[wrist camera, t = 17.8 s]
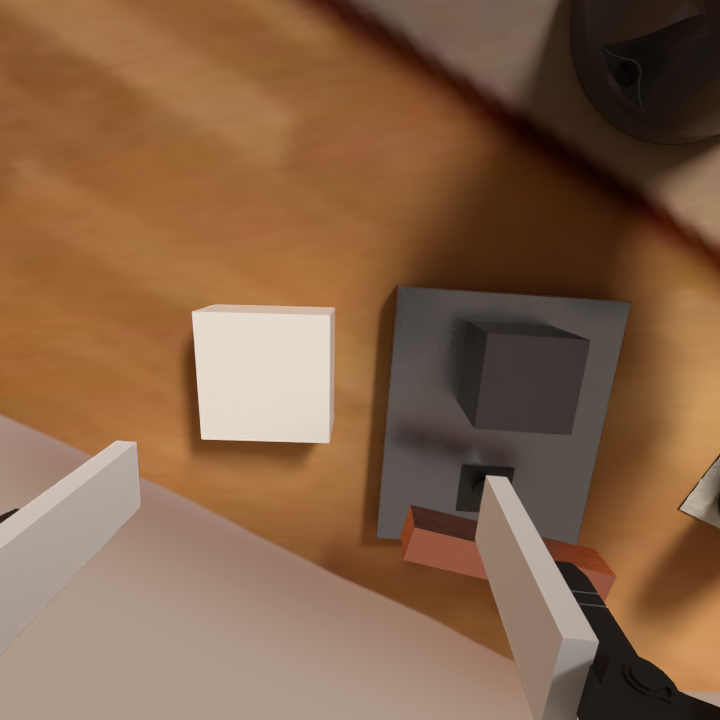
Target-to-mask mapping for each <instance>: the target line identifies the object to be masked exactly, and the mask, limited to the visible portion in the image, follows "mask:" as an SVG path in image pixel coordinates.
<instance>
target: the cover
mask: <svg viewBox="0 0 720 720" xmlns="http://www.w3.org/2000/svg"><path fill="white" fill-rule="evenodd" d="M192 319H193V333H194V346H195V360H196V374H197V387H198V401H199V414H200V428H201V439H205V440H238V441H272V442H305V443H329V442H330V437H331V432H332V428H333V423H334V367H335V308H334V307H296V306H258V305H221V304H214V305H211V306H208V307H205V308H202V309H198V310H195V311H192Z"/></svg>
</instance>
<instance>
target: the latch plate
mask: <svg viewBox="0 0 720 720" xmlns="http://www.w3.org/2000/svg"><path fill="white" fill-rule="evenodd" d="M630 305H631V302H625V301H619V300H613V299H598V298H583V297H569V296H554V295H539V294H525V293H510V292H495V291H480V290H466V289H451V288H436V287H422V286H407V285H397V288H396V300H395V311H394V323H393V334H392V346H391V358H390V369H389V381H388V392H387V404H386V415H385V427H384V439H383V450H382V462H381V473H380V485H379V497H378V508H377V520H376V529H377V538H385V539H400V540H401V536H400V534H401V531H402V528H403V525H404V522H405V519H406V516H407V513H408V510H409V507H410V504H411V505H415V506H419V507H423V508H427V509H431V510H435V511H439V512H443V513H447V514H451V515H455V516H459V517H463V518H468V519H472V520H476V521H478V518H479V512H480V506H479V504H478V502H477V500H476V497H475V495H474V487H475V485H476V484H477V483H479V482H480V481H483V480H485V478H486V475H489V476H500V477H507V478H508V480H509V482H510V484H511V485H512V487H513V489H514V491H515V493H516V494H517V496H518V498H519V500H520V501H521V503H522V505H523V507H524V509H525V510H526V512H527V514H528V516H529V517H530V519H531V521H532V523H533V525H534V526H535V528H536V530H537V532H538V534H539V535H540V536H541V537H545V538H549V539H553V540H557V541H561V542H565V543H569V544H573V545H577V541H578V537H579V532H580V528H581V523H582V519H583V514H584V510H585V505H586V501H587V496H588V492H589V487H590V483H591V479H592V474H593V470H594V465H595V461H596V456H597V452H598V447H599V443H600V438H601V434H602V429H603V425H604V421H605V416H606V412H607V407H608V403H609V398H610V394H611V389H612V385H613V380H614V376H615V371H616V367H617V363H618V358H619V354H620V349H621V345H622V340H623V336H624V331H625V327H626V322H627V318H628V313H629V309H630Z"/></svg>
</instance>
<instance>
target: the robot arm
mask: <svg viewBox="0 0 720 720" xmlns="http://www.w3.org/2000/svg"><path fill="white" fill-rule="evenodd" d="M571 41H572V51H573V57H574V62H575V66H576V69H577V73H578V76H579V78H580V81H581V83H582V86H583V88H584V90H585V92H586V94H587V95H588V97H589V99H590V100H591V102H592V103H593V105H594V106H595V107H596V109H597V110H598V111H599V112H600V113H601V114H602V115H603V116H604V118H606V119H607V120H608V121H609V122H610V123H611V124H613V125H614V126H615V127H617V128H618V129H620V130H621V131H623V132H625V133H627V134H629V135H631V136H633V137H635V138H638V139H641V140H644V141H648V142H653V143H659V144H684V143H691V142H696V141H700V140H703V139H707V138H710V137H713V136H716V135H718V134H720V0H574V2H573V8H572V18H571ZM140 506H141V502H140V487H139V473H138V458H137V443H136V442H127V441H115V442H114V443H112V444H111V445H110V446H108V447H107V448H105V449H104V450H103V451H101V452H100V453H98V454H97V455H96V456H94V457H93V458H91V459H90V460H89V461H87V462H86V463H84V464H83V465H82V466H80V467H79V468H77V469H76V470H75V471H74V472H72V473H70V474H69V475H68V476H66V477H65V478H63V479H62V480H61V481H60V482H58V483H56V484H55V485H54V486H52V487H51V488H49V489H48V490H47V491H45V492H44V493H42V494H41V495H40V496H38V497H37V498H36V499H34V500H33V501H32V502H30V503H29V504H27V505H26V506H24V507H23V508H22V509H14V510H12V511H10V512H7V513H5V514H3V515H1V516H0V655H1V654H2V653H3V652H4V651H5V650H6V649H7V648H8V647H9V646H10V645H11V643H12V642H13V641H14V640H15V639H16V638H17V637H18V636H19V635H20V634H21V633H22V632H23V631H24V630H25V629H26V627H27V626H28V625H29V624H30V623H31V622H32V621H33V620H34V619H35V618H36V617H37V616H38V615H39V614H40V613H41V611H43V609H44V608H45V607H46V606H47V605H48V604H49V603H50V602H51V601H52V600H53V599H54V598H55V597H56V596H57V595H58V594H59V592H60V591H61V590H62V589H63V588H64V587H65V586H66V585H67V584H68V583H69V582H70V581H71V580H72V579H73V578H74V577H75V576H76V574H77V573H78V572H79V571H80V570H81V569H82V568H83V567H84V566H85V565H86V564H87V563H88V561H90V559H91V558H92V557H93V556H94V555H95V554H96V553H97V552H98V551H99V550H100V549H101V548H102V547H103V546H104V545H105V544H106V543H107V541H108V540H109V539H110V538H111V537H112V536H113V535H114V534H115V533H116V532H117V531H118V530H119V529H120V528H121V527H122V526H123V524H124V523H125V522H126V521H127V520H128V519H129V518H130V517H131V516H132V515H133V514H134V513H135V512H136V511H137V510H138V509H139V508H140ZM475 541H476V544H477V547H478V550H479V553H480V556H481V559H482V562H483V565H484V568H485V571H486V574H487V577H488V580H489V583H490V586H491V590H492V593H493V596H494V599H495V602H496V605H497V608H498V611H499V614H500V617H501V620H502V623H503V626H504V629H505V632H506V635H507V638H508V641H509V644H510V647H511V650H512V653H513V656H514V659H515V663H516V666H517V669H518V672H519V675H520V678H521V681H522V684H523V686H524V690H525V693H526V696H527V699H528V702H529V705H530V708H531V711H532V714H533V717H534V720H577V717H578V719H579V720H720V707H718V706H715V705H712V704H710V703H707V702H704V701H702V700H699V699H696V698H694V697H691V696H688V695H686V694H684V693H682V692H680V691H678V689H677V687H676V686H675V684H674V683H673V681H672V680H671V679H670V678H669V677H668V676H667V675H666V674H665V673H664V672H663V671H662V670H660V669H659V668H658V667H656V666H655V665H654V664H652V663H651V662H649V661H647V660H645V659H643V658H641V657H639V656H638V655H637V653H636V652H635V650H634V649H633V647H632V645H631V644H630V642H629V641H628V639H627V638H626V636H625V635H624V633H623V631H622V630H621V628H620V627H619V625H618V624H617V622H616V620H615V619H614V617H613V616H612V614H611V613H610V611H609V609H608V608H606V605H605V603H604V602H603V600H602V598H601V597H600V595H598V594H597V591H596V589H595V587H594V586H593V584H592V583H591V581H590V580H589V578H588V577H587V576H586V575H585V574H584V573H583V572H582V571H581V570H580V569H579V568H578V567H576V566H575V565H574V564H573V563H572V562H562V561H554V560H553V559H552V557H551V555H550V553H549V551H548V550H547V548H546V546H545V544H544V542H543V541H542V539H541V537H540V535H539V534H538V532H537V530H536V528H535V526H534V525H533V523H532V521H531V519H530V517H529V516H528V514H527V512H526V510H525V509H524V507H523V505H522V503H521V501H520V500H519V498H518V496H517V494H516V493H515V491H514V489H513V487H512V485H511V484H510V482H509V480H508V478H507V477H500V476H489V475H486V478H485V484H484V490H483V495H482V501H481V507H480V512H479V518H478V524H477V530H476V535H475Z"/></svg>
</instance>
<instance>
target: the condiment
mask: <svg viewBox="0 0 720 720" xmlns="http://www.w3.org/2000/svg"><path fill="white" fill-rule="evenodd" d="M714 495H715V499H714V498H713V496H714ZM715 500H717V502H715ZM680 510H682V511H684V512H686V513H688V514H690V515H692V516H694V517H696V518H698V519H700V520H703V521H705V522H707V523H709V524H711V525H713V526H715V527H718V528H720V457H719V459H718V460H717V461H716V462H715V463H714V464H713V465H712V467H711V468H710V469H709V470H708V472H707V473H706V474H705V476H704V477H703V478H701V479H700V482H699V483H698V485H697V486H696V488H695V489H694V491H693V492H692V493H691V494H690V495H689V496H688V498H687V500H686V501H685V502H684V504H683V505H682V506H681V507H680Z"/></svg>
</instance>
